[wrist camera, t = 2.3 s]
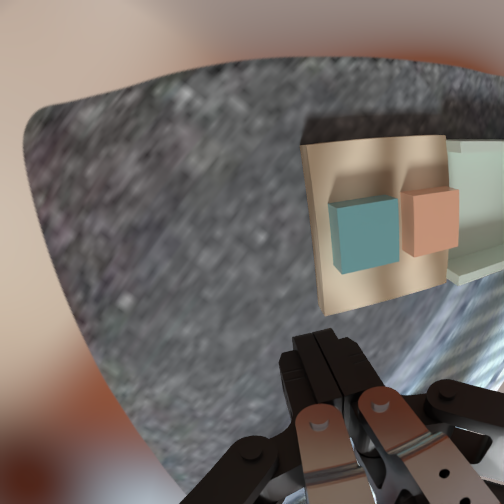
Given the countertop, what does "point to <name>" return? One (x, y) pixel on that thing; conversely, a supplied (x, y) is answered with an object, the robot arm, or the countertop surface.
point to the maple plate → (366, 185)
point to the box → (477, 208)
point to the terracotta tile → (429, 220)
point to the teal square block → (364, 232)
